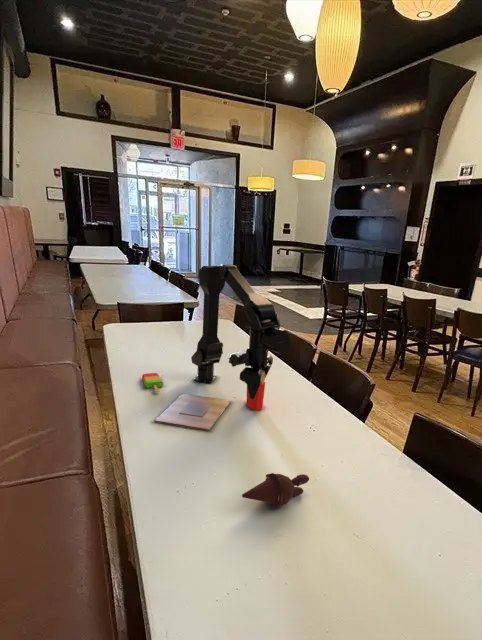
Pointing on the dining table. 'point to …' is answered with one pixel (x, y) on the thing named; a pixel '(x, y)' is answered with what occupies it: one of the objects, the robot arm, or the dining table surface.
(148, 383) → the popsicle
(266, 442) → the dining table surface
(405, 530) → the dining table surface
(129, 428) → the dining table surface
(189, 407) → the placemat
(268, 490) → the icecream
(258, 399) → the french fries
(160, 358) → the dining table surface
